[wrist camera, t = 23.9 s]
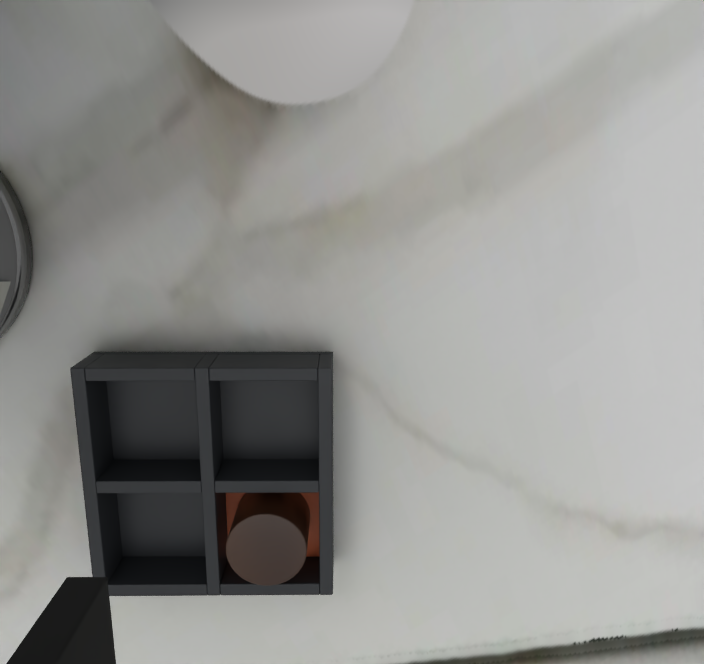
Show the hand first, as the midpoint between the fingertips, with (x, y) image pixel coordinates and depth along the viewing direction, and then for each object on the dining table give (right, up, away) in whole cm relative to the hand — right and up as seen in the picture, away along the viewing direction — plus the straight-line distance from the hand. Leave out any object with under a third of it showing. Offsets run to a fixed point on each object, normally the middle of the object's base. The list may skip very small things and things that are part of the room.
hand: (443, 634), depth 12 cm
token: (-7, -6, +28) cm, 30 cm away
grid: (-10, -2, +28) cm, 30 cm away
